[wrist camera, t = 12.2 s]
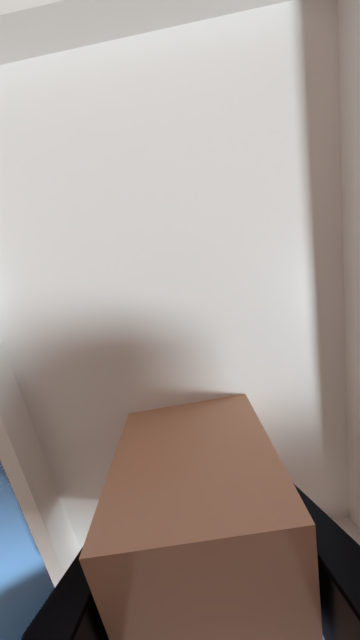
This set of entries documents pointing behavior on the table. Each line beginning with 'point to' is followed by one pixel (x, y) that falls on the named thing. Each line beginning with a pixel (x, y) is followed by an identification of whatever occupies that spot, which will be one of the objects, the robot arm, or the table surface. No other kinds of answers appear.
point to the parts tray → (176, 238)
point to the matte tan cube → (202, 532)
